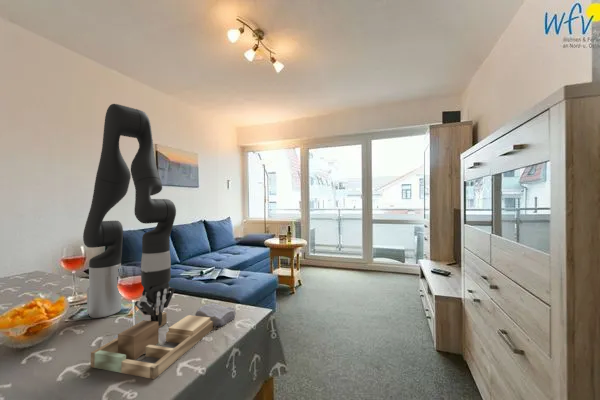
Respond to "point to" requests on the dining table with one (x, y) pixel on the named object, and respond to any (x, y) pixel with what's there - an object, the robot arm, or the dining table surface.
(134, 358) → the walnut block
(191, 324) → the box
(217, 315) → the stone block
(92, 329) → the dining table surface
